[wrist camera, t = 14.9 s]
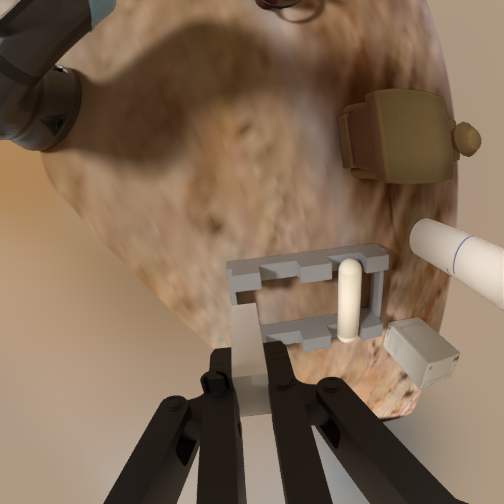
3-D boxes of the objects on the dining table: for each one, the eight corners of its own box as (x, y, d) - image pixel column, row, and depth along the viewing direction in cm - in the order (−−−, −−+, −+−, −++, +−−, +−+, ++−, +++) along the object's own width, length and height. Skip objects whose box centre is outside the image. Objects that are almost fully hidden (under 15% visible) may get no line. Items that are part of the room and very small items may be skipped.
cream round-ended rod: (332, 339, 46) (343, 349, 42) (334, 257, 41) (346, 265, 38) (350, 333, 46) (361, 343, 43) (353, 253, 42) (366, 260, 39)
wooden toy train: (333, 180, 42) (388, 192, 26) (323, 107, 38) (373, 80, 22) (433, 172, 42) (501, 183, 26) (426, 110, 39) (492, 100, 23)
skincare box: (381, 345, 52) (416, 392, 37) (388, 319, 50) (427, 364, 36) (414, 339, 52) (450, 380, 38) (421, 314, 50) (462, 353, 36)
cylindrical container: (435, 212, 44) (541, 254, 20) (440, 247, 46) (536, 301, 22) (406, 226, 44) (514, 279, 21) (412, 262, 47) (508, 328, 23)
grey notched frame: (239, 342, 49) (240, 363, 43) (226, 261, 44) (226, 276, 38) (371, 320, 49) (385, 337, 44) (375, 242, 45) (393, 254, 39)
